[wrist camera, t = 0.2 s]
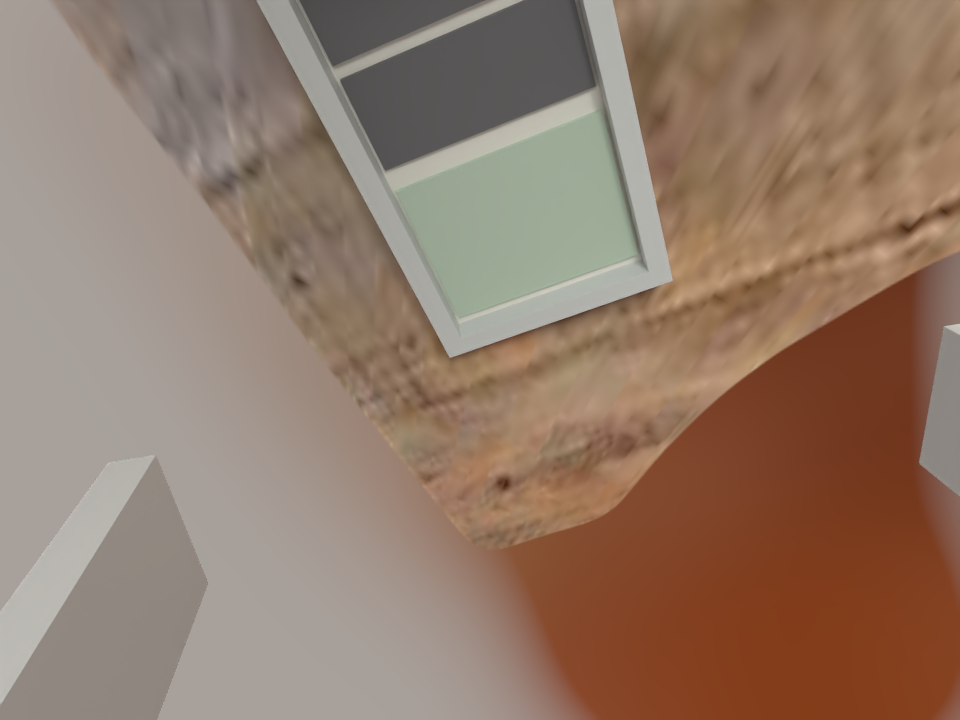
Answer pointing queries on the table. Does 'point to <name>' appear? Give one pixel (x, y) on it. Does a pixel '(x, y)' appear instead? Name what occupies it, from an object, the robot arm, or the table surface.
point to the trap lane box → (487, 151)
